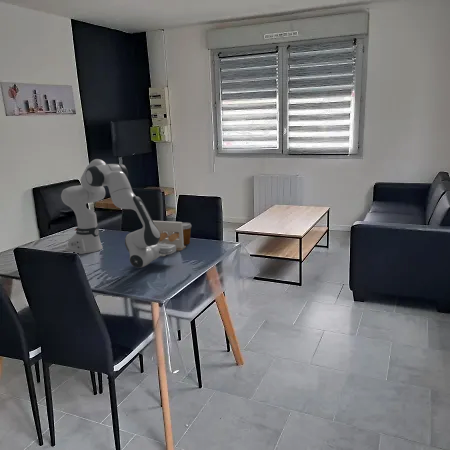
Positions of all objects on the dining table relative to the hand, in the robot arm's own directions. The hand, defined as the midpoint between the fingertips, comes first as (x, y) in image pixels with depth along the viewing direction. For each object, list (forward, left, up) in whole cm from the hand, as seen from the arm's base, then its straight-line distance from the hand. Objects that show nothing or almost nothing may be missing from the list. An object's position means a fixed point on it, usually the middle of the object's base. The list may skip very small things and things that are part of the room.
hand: (163, 243), depth 232 cm
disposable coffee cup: (0, +27, -8) cm, 28 cm away
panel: (-7, +16, -8) cm, 19 cm away
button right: (0, +12, -2) cm, 13 cm away
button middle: (-7, +12, -2) cm, 14 cm away
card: (-7, +4, -8) cm, 11 cm away
